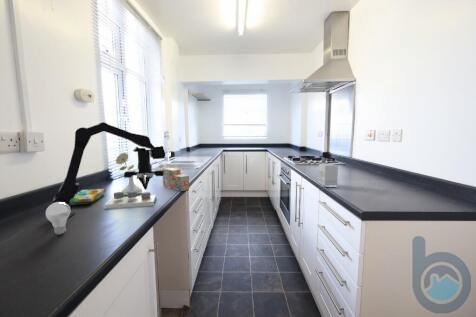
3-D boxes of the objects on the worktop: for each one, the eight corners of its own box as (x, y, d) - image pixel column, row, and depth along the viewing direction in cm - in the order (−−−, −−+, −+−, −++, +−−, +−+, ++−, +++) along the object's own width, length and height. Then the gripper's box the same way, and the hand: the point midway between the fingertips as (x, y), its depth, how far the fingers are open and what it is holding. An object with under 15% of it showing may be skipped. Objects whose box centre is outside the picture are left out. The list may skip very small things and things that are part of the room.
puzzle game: (105, 187, 131) (90, 197, 111) (105, 195, 131) (91, 206, 112) (82, 188, 128) (63, 198, 109) (83, 196, 129) (64, 208, 109)
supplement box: (330, 184, 155) (331, 163, 153) (337, 187, 146) (338, 165, 144) (317, 184, 154) (318, 163, 152) (324, 188, 145) (325, 165, 143)
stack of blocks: (189, 189, 143) (188, 170, 141) (181, 191, 138) (180, 172, 136) (170, 184, 156) (170, 167, 155) (162, 186, 152) (162, 168, 150)
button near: (122, 198, 113) (122, 193, 112) (112, 199, 112) (112, 194, 111) (124, 196, 117) (124, 191, 117) (115, 196, 116) (115, 192, 116)
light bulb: (52, 240, 76) (49, 206, 74) (44, 235, 79) (41, 203, 78) (76, 232, 82) (73, 201, 80) (67, 228, 85) (64, 198, 84)
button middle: (136, 197, 114) (135, 193, 114) (126, 198, 113) (126, 193, 113) (137, 195, 118) (137, 190, 118) (129, 195, 117) (128, 191, 117)
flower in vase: (137, 190, 140) (135, 151, 137) (145, 194, 132) (143, 152, 129) (115, 194, 131) (112, 152, 128) (122, 198, 123) (119, 153, 120)
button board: (153, 205, 112) (153, 201, 111) (104, 208, 107) (104, 204, 107) (156, 198, 123) (156, 194, 123) (112, 201, 118) (112, 197, 118)
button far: (149, 198, 116) (149, 194, 115) (140, 199, 115) (140, 194, 114) (151, 196, 120) (150, 191, 120) (142, 196, 119) (142, 192, 119)
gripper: (164, 157, 125) (165, 184, 127) (128, 158, 121) (130, 186, 123) (162, 160, 114) (163, 189, 116) (122, 161, 110) (124, 192, 112)
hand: (145, 189), depth 117 cm, fingers closed
